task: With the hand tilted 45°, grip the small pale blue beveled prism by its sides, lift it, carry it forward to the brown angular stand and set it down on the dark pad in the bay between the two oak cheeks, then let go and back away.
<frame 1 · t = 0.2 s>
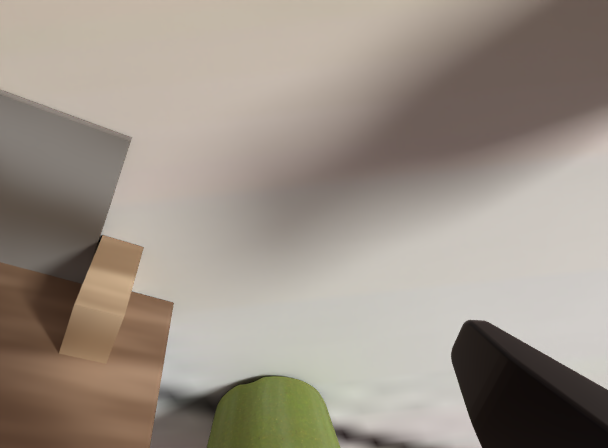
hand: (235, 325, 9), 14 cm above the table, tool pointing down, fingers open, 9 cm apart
plant pot: (268, 407, 33), on the table
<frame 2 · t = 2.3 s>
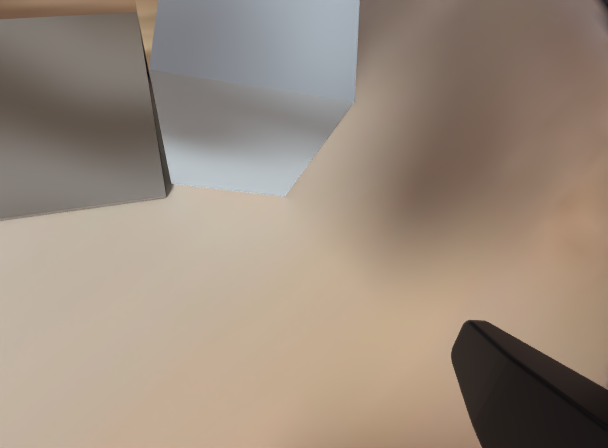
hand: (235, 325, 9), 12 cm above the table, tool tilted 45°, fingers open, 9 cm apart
pale blue beveled prism: (233, 147, 23), on the table
brown angular stand: (5, 3, 22), on the table
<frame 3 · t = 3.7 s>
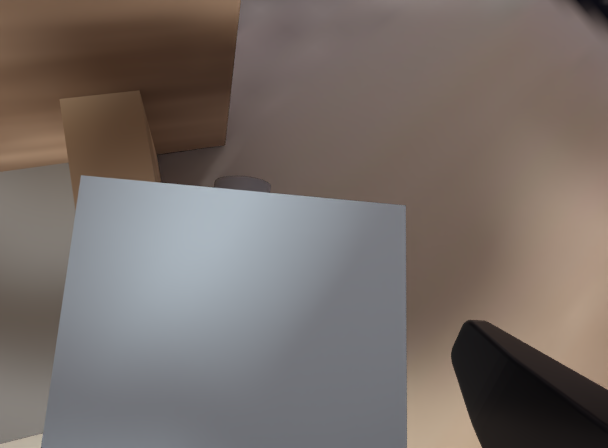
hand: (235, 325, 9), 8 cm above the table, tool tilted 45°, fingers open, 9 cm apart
pale blue beveled prism: (221, 329, 17), on the table
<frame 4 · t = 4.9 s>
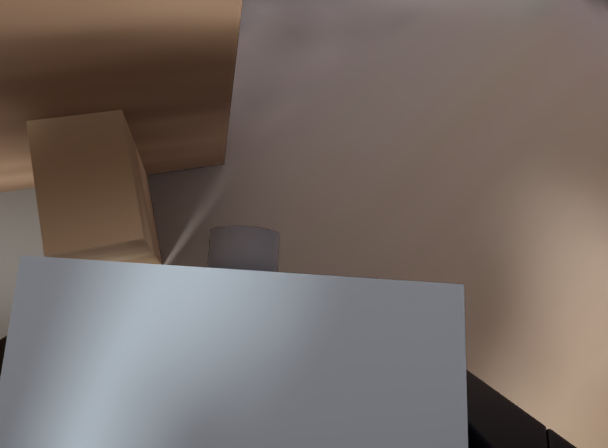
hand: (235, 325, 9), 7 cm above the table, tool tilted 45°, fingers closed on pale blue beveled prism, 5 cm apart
pale blue beveled prism: (219, 374, 15), on the table, touching gripper
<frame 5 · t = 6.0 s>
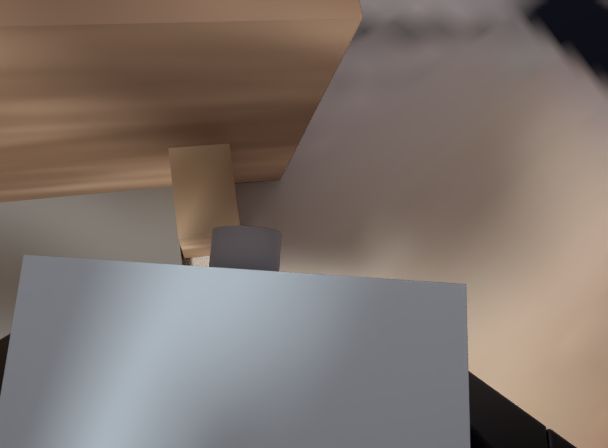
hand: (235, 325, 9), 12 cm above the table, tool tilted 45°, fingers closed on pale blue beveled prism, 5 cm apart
pale blue beveled prism: (220, 373, 15), point 5 cm above the table, touching gripper
brown angular stand: (34, 178, 20), on the table
when the fingers open (8 cm above the table, at t = 7.5 s): pale blue beveled prism stays where it is, resting on brown angular stand.
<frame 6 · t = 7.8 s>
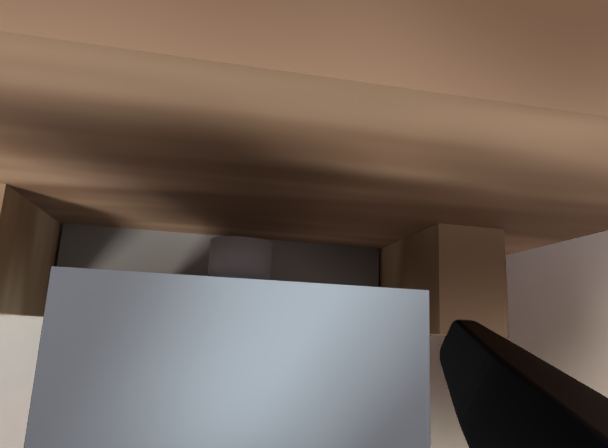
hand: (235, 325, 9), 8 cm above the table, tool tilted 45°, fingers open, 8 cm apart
pale blue beveled prism: (218, 370, 16), resting on brown angular stand
brown angular stand: (231, 210, 18), on the table
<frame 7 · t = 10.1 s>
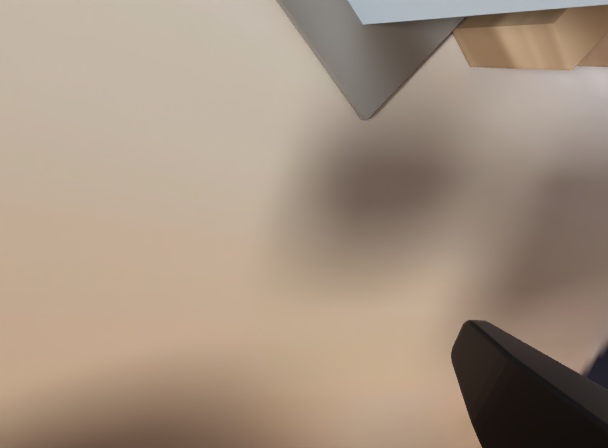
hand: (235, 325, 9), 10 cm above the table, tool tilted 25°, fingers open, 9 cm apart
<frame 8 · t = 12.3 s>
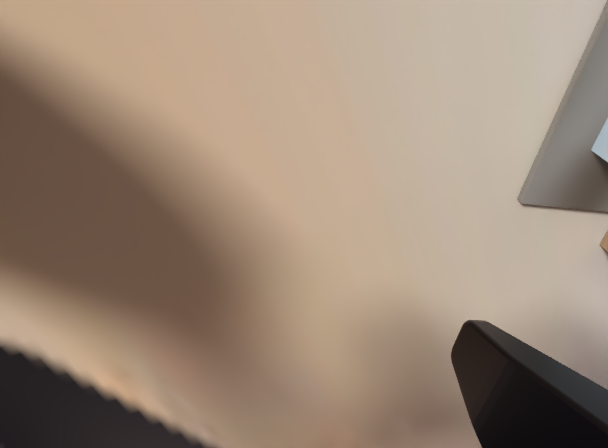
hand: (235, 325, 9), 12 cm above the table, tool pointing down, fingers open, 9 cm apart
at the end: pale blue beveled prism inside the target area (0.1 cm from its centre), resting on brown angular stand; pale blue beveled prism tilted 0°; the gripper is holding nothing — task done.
